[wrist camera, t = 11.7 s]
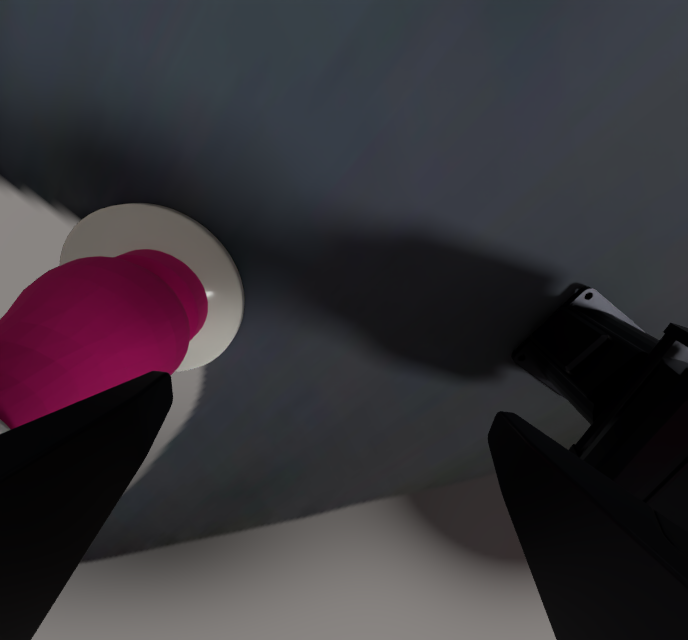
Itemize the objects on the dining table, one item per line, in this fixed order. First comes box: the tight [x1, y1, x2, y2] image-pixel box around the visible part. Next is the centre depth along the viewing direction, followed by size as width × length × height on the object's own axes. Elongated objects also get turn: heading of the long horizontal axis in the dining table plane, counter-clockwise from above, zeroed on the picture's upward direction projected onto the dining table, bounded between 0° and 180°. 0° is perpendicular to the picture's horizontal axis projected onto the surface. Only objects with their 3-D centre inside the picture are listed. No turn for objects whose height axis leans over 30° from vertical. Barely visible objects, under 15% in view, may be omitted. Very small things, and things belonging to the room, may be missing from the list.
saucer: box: [60, 203, 245, 372], centre depth 21 cm, size 11×11×1 cm
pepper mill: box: [0, 249, 208, 434], centre depth 12 cm, size 7×7×20 cm
